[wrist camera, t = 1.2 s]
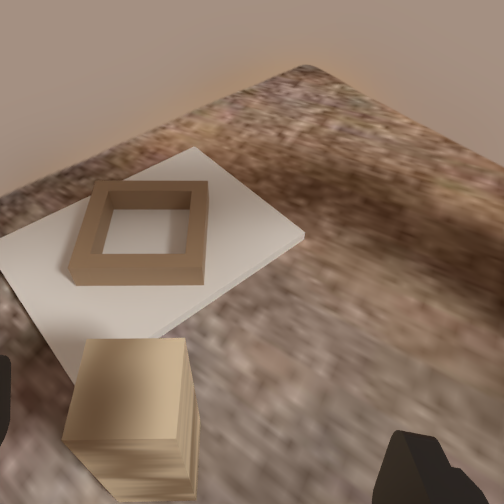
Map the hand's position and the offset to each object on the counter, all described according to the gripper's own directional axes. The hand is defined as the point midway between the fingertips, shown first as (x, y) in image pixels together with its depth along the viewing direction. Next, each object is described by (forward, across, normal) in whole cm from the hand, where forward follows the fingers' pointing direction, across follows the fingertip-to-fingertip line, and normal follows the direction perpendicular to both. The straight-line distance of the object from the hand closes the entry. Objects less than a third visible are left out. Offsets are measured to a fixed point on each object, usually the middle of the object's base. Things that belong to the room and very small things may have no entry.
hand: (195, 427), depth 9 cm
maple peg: (+17, +3, +17) cm, 24 cm away
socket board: (+33, +9, +8) cm, 35 cm away
